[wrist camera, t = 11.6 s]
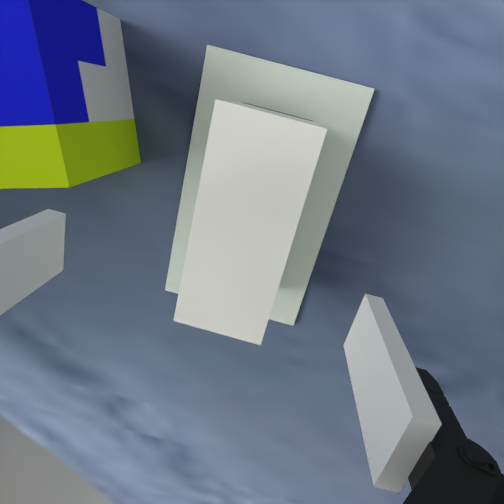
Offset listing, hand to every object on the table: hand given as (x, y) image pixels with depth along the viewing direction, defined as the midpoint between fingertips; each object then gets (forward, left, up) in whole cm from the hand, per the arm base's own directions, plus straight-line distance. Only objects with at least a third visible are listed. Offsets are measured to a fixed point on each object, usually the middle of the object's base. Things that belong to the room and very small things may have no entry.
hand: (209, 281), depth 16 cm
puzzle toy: (-16, +4, -15) cm, 22 cm away
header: (0, 0, -15) cm, 15 cm away
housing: (0, 0, -13) cm, 13 cm away
